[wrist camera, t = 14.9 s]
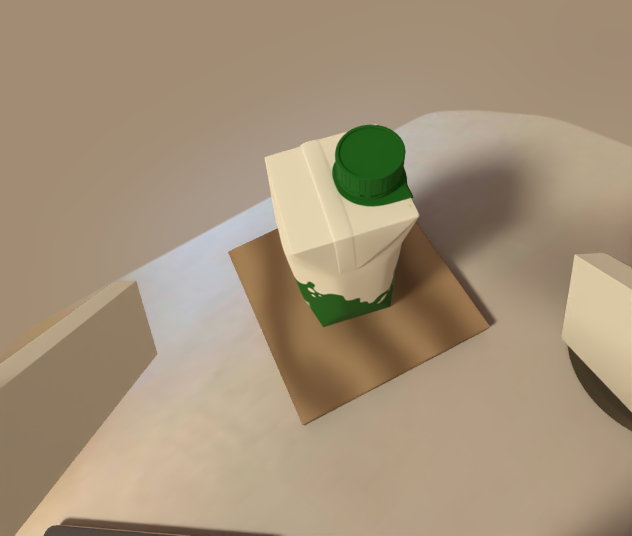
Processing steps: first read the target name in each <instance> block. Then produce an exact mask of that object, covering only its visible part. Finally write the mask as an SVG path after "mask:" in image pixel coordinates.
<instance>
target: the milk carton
mask: <svg viewBox="0 0 632 536" xmlns="http://www.w3.org/2000/svg"><path fill="white" fill-rule="evenodd" d="M404 159H405V146H404V143H403V141H402V139H401V138H400V137H399V136H398V134H396V133H395V132H394V131H392V130H391V129H388V128H386V127H383V126H379V125H377V124H373V125H364V126H360V127H357V128H354V129H352V130H350V131H348V132H344V133H340V134H337V135H333V136H330V137H326V138H323V139H319V140H312V141H309V142H306V143H303V144H301V147H297V148H294V149H290V150H287V151H284V152H280V153H277V154H273V155H270V156H267V157H265V162H266V167H267V173H268V179H269V185H270V190H271V196H272V202H273V207H274V213H275V219H276V223H277V227H278V230H279V234H280V239H281V243H282V247H283V250H284V253H285V255H286V258H287V260H288V263H289V265H290V268H291V270H292V272H293V275H294V277H295V280H296V282H297V284H298V287H299V289H300V292H301V294H302V296H303V298H304V300H305V301H306V303H307V304H308V306H309V307H310V308H311V310H312V311H313V313H314V314H315V316H316V317H317V319H318V320H319V322H320V323H321V325H322V326H323V327H326V326H329V325H332V324H335V323H339V322H342V321H345V320H349V319H352V318H355V317H358V316H362V315H365V314H368V313H372V312H375V311H378V310H381V309H385V308H388V307H390V305H391V299H392V292H393V285H394V278H395V273H396V268H397V263H398V259H399V254H400V249H401V245H402V242H403V240H404V239H405V237H406V236H407V234H408V233H409V231H410V230H411V228H412V227H413V225H414V224H415V222H416V221H417V219H418V218H419V216H420V215H419V212H418V210H417V208H416V206H415V204H414V203H413V201H412V198H413V195H412V193H411V191H410V189H409V187H408V185H407V176H406V172H405V169H404Z"/></svg>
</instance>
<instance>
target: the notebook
mask: <svg viewBox="0 0 632 536" xmlns="http://www.w3.org/2000/svg"><path fill="white" fill-rule="evenodd" d="M44 536H189V535H177V534H166V533H154V532H142V531H130V530H119V529H107V528H95V527H83V526H71V525H61V526H59V525H56V526H51V527H50V528H48V529H47V530H46V532H45V534H44Z"/></svg>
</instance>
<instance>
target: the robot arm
mask: <svg viewBox="0 0 632 536" xmlns="http://www.w3.org/2000/svg"><path fill="white" fill-rule="evenodd" d="M561 339H562V340H563V341H564V342H565V343H566V344H567V345H568V350H569V355H570V359H571V363H572V365H573V368H574V371H575V373H576V375H577V377H578V379H579V381H580V382H581V384H582V386H583V387H584V389H585V390H586V392H587V393H588V394H589V396H590V397H591V398H592V399H593V400H594V402H595V403H596V404H597V405H598V406H599V407H600V408H601V409H602V410H603V411H604V412H605V413H607V414H608V415H609V416H610V417H611V418H613V419H614V420H615V421H617V422H618V423H620V424H621V425H622V426H624V427H626V428H627V429H629V430H631V431H632V268H631V267H629V266H627V265H626V264H624V263H622V262H620V261H618V260H616V259H615V258H613V257H611V256H609V255H607V254H605V253H591V254H575V257H574V263H573V269H572V275H571V281H570V288H569V294H568V300H567V306H566V312H565V318H564V325H563V331H562V337H561ZM156 355H157V351H156V348H155V344H154V341H153V337H152V334H151V330H150V327H149V323H148V320H147V317H146V313H145V310H144V306H143V303H142V299H141V296H140V293H139V289H138V286H137V282H136V281H123V282H113V283H112V284H110V285H109V286H107V287H106V288H105V289H103V290H102V291H100V292H99V293H98V294H96V295H95V296H94V297H92V298H91V299H89V300H88V301H87V302H85V303H84V304H83V305H81V306H80V307H78V308H77V309H76V310H74V311H73V312H71V313H70V314H69V315H67V316H66V317H65V318H63V319H62V320H60V321H59V322H58V323H56V324H55V325H53V326H52V327H51V328H49V329H48V330H47V331H45V332H44V333H42V334H41V335H40V336H38V337H37V338H36V339H34V340H33V341H31V342H30V343H29V344H27V345H26V346H24V347H23V348H22V349H20V350H19V351H18V352H16V353H15V354H13V355H12V356H11V357H9V358H8V359H6V360H5V361H4V362H2V363H1V364H0V536H14V535H15V534H16V533H17V532H18V530H19V529H20V528H21V527H22V525H23V524H24V523H25V521H26V520H27V519H28V518H29V516H30V515H31V514H32V513H33V511H34V510H35V509H36V507H37V506H38V505H39V504H40V502H41V501H42V500H43V499H44V497H45V496H46V495H47V493H48V492H49V491H50V490H51V488H52V487H53V486H54V485H55V483H56V482H57V481H58V480H59V478H60V477H61V476H62V474H63V473H64V472H65V471H66V469H67V468H68V467H69V466H70V464H71V463H72V462H73V460H74V459H75V458H76V457H77V455H78V454H79V453H80V452H81V450H82V449H83V448H84V446H85V445H86V444H87V443H88V441H89V440H90V439H91V438H92V436H93V435H94V434H95V433H96V431H97V430H98V429H99V427H100V426H101V425H102V424H103V422H104V421H105V420H106V419H107V417H108V416H109V415H110V413H111V412H112V411H113V410H114V408H115V407H116V406H117V405H118V403H119V402H120V401H121V399H122V398H123V397H124V396H125V394H126V393H127V392H128V391H129V389H130V388H131V387H132V386H133V384H134V383H135V382H136V380H137V379H138V378H139V377H140V375H141V374H142V373H143V372H144V370H145V369H146V368H147V366H148V365H149V364H150V363H151V361H152V360H153V359H154V358H155V356H156Z"/></svg>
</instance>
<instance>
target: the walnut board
mask: <svg viewBox="0 0 632 536" xmlns="http://www.w3.org/2000/svg"><path fill="white" fill-rule="evenodd" d="M228 253H229V255H230V257H231V260H232V262H233V264H234V267H235V269H236V271H237V274H238V276H239V278H240V281H241V283H242V285H243V288H244V290H245V292H246V295H247V297H248V299H249V302H250V304H251V306H252V309H253V311H254V313H255V315H256V318H257V320H258V322H259V325H260V327H261V329H262V332H263V334H264V336H265V339H266V341H267V343H268V346H269V348H270V350H271V353H272V355H273V357H274V360H275V362H276V364H277V366H278V369H279V371H280V373H281V376H282V378H283V380H284V383H285V385H286V387H287V390H288V392H289V394H290V397H291V399H292V401H293V404H294V406H295V408H296V411H297V413H298V415H299V418H300V420H301V422H302V424H303V425H306V424H308V423H310V422H312V421H314V420H316V419H318V418H319V417H321V416H323V415H325V414H327V413H329V412H331V411H333V410H335V409H337V408H338V407H340V406H342V405H344V404H346V403H348V402H350V401H352V400H354V399H356V398H357V397H359V396H361V395H363V394H365V393H367V392H369V391H371V390H373V389H375V388H377V387H378V386H380V385H382V384H384V383H386V382H388V381H390V380H392V379H394V378H396V377H397V376H399V375H401V374H403V373H405V372H407V371H409V370H411V369H413V368H415V367H416V366H418V365H420V364H422V363H424V362H426V361H428V360H430V359H432V358H434V357H435V356H437V355H439V354H441V353H443V352H445V351H447V350H449V349H451V348H453V347H454V346H456V345H458V344H460V343H462V342H464V341H466V340H468V339H470V338H472V337H473V336H475V335H477V334H479V333H481V332H483V331H485V330H486V329H487V328H489V327H490V326H489V324H488V323H487V322H486V320H485V319H484V317H483V316H482V315H481V313H480V312H479V310H478V309H477V308H476V306H475V305H474V303H473V302H472V300H471V299H470V298H469V296H468V295H467V293H466V292H465V291H464V289H463V288H462V286H461V285H460V284H459V282H458V281H457V279H456V278H455V276H454V275H453V274H452V272H451V271H450V269H449V268H448V267H447V265H446V264H445V262H444V261H443V259H442V258H441V257H440V255H439V254H438V252H437V251H436V250H435V248H434V247H433V245H432V244H431V243H430V241H429V240H428V238H427V237H426V235H425V234H424V233H423V231H422V230H421V228H420V227H419V226H418V224H417V223H416V222H415V224H414V225H413V227H412V228H411V230H410V231H409V233H408V234H407V236H406V237H405V239H404V240H403V242H402V245H401V249H400V254H399V259H398V263H397V268H396V273H395V278H394V285H393V292H392V299H391V305H390V307H388V308H385V309H381V310H378V311H375V312H372V313H368V314H365V315H362V316H358V317H355V318H352V319H349V320H345V321H342V322H339V323H335V324H332V325H329V326H326V327H323V326H322V325H321V323H320V322H319V320H318V319H317V317H316V316H315V314H314V313H313V311H312V310H311V308H310V307H309V306H308V304H307V303H306V301H305V300H304V298H303V296H302V294H301V292H300V289H299V287H298V284H297V282H296V280H295V277H294V275H293V272H292V270H291V268H290V265H289V263H288V260H287V258H286V255H285V253H284V250H283V247H282V243H281V239H280V234H279V230H278V229H275V230H273V231H271V232H269V233H267V234H265V235H263V236H261V237H259V238H256V239H254V240H252V241H250V242H248V243H246V244H244V245H242V246H240V247H237V248H235V249H233V250H231V251H229V252H228Z"/></svg>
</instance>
